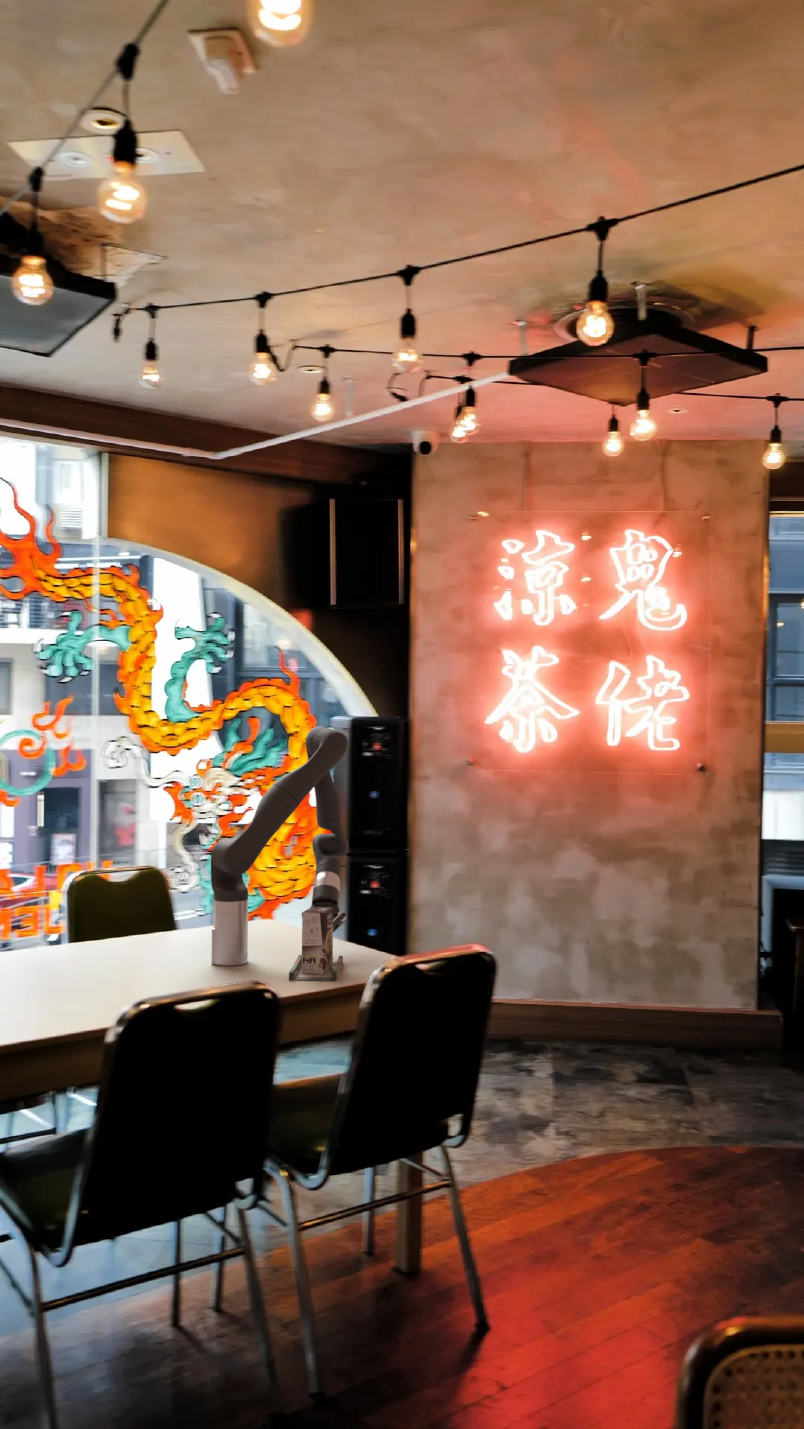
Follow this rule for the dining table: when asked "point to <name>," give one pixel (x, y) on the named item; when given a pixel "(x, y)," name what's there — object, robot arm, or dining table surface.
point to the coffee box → (317, 940)
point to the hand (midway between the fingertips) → (321, 943)
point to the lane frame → (334, 977)
